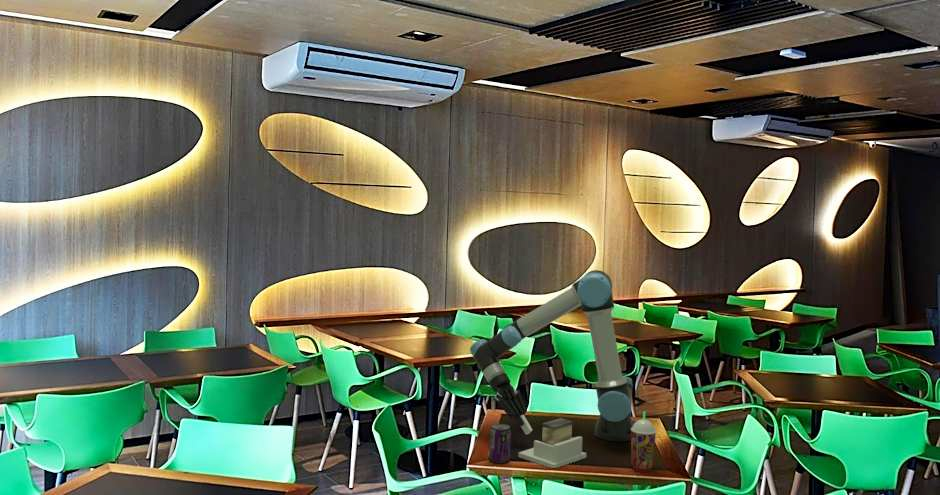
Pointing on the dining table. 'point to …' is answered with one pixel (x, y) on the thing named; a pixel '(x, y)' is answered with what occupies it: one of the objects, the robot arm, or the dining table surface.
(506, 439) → the beverage can
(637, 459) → the smoothie
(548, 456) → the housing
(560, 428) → the grey and beige block
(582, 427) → the dining table surface
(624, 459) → the dining table surface
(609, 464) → the dining table surface
